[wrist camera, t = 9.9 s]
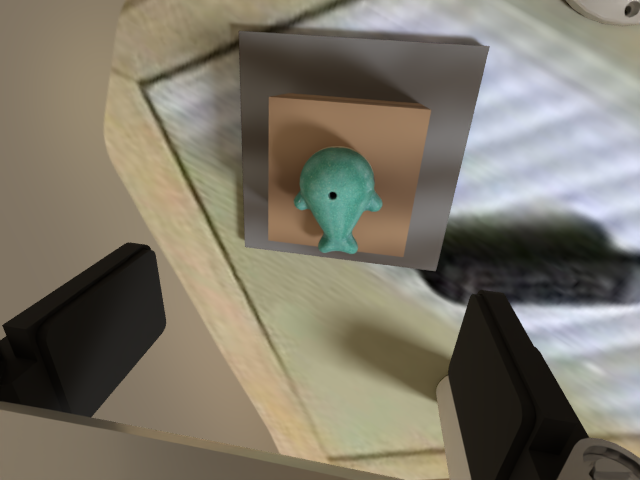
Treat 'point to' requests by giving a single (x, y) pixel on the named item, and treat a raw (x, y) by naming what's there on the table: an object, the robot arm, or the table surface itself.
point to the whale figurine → (337, 195)
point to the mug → (451, 433)
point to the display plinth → (362, 79)
